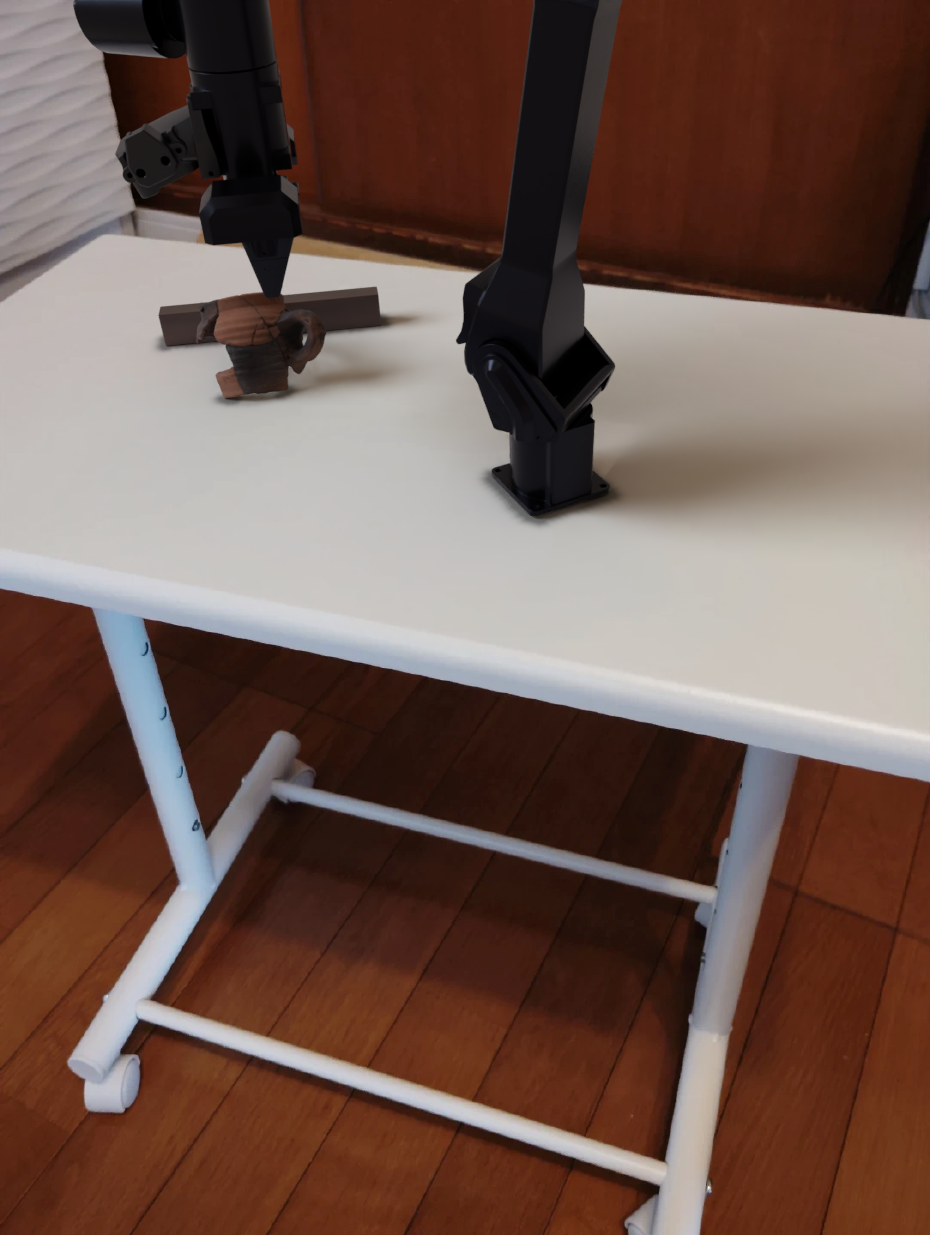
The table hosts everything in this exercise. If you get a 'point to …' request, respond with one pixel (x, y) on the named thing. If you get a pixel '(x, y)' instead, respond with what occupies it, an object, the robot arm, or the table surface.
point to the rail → (329, 305)
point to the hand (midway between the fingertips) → (272, 296)
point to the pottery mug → (260, 341)
